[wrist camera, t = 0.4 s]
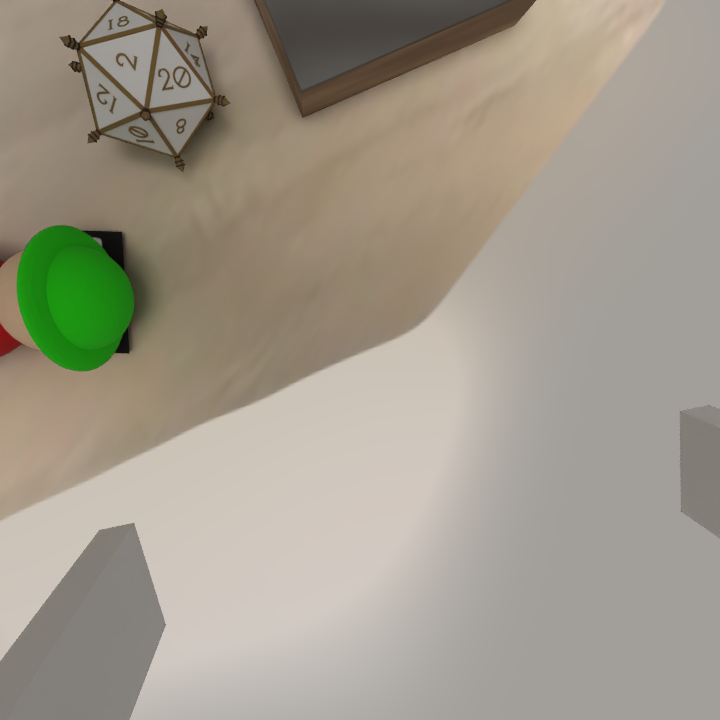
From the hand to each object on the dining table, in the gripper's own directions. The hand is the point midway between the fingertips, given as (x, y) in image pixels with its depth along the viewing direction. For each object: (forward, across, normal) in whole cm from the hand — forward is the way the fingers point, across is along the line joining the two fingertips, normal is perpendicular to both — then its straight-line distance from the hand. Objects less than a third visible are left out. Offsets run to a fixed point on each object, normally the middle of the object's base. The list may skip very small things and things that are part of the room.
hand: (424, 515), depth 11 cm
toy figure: (+26, -20, +7) cm, 34 cm away
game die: (+26, -9, +18) cm, 33 cm away
